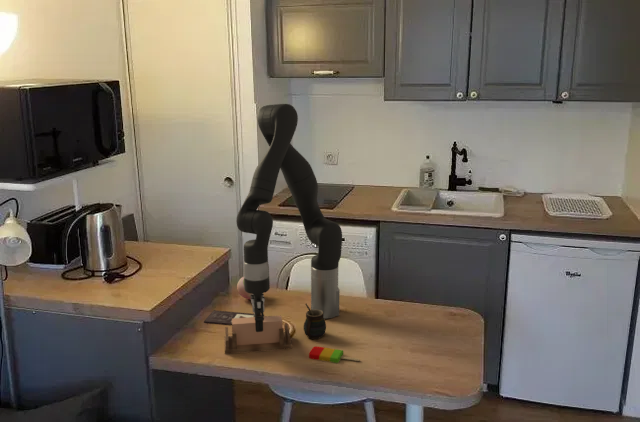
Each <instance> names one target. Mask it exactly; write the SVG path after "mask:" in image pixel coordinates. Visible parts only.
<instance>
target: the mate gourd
mask: <svg viewBox="0 0 640 422" xmlns="http://www.w3.org/2000/svg"><path fill="white" fill-rule="evenodd" d="M304 305H305V307H306V308H307V309H308V311H306V312H305V321H304V323H303V331H304V335H305V336H306V337H308V338H309V339H310V340H318V339H321V338H323V337H324V335H325V333H326V331H327V323H326V320H325V319H324V318H323V316H324V315H323V314H324V313H323V311H321V310H317V309H314V310H311V307H309V305H308V304H307V303H305V304H304Z"/></svg>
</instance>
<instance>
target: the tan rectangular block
mask: <svg viewBox="0 0 640 422" xmlns="http://www.w3.org/2000/svg"><path fill="white" fill-rule="evenodd" d="M254 318H255V317H249V318H234V319H232V325H231V333H232V332H236V337H237V345H249V344H263V343H277V342H279V329H282V328H283V318H282V315H267V316H265V315H264V321H263V331H262V332H256V327H255V319H254Z"/></svg>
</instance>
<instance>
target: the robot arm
mask: <svg viewBox="0 0 640 422" xmlns="http://www.w3.org/2000/svg"><path fill="white" fill-rule="evenodd" d="M298 121H299V115H298V111H297V110H296V108H295V107H294V106H293V105H291V104H290V103H289V104H288V103H277V104H268V105H266V104H265V105H263V106H262V107H260V108H259V110H258V113H257V125H258V128H259V130H260V132H261V134H262V136H263V139H265V141H266V143H267V145H268V146H269V148H268V150H267V151H266V153H265V154H264V156H263V157H262V159H261V160H260V161H259V163H257V166H256V168H255V171H254V172H253V175H252V180H251V183H250V187H249V192H248V193H247V196H246V198H245V200H244V201H243V203H242V205H241V207H240V208H239V211H238V212H237V215H236V227H237V229H238V230H239V231H240V232H242V233H246V234H253V235H256V237H255V238H254V239H250V240H247V241H245V242H244V244H243V277H244V289H245V291H246V292H247V293H250V294H251V295H250V296H251V299H250V302H251V303H250V304H251V305H252V314H254V317H255V318H254V319H255V327H256V332H262V331H263V321H264V316H265V314H264V313H265V301H266V300H265V296H264V295H265V294H264V293H267V292H268V291H270V286H271V285H270V282H271V281H270V265H269V252H268V251H269V249H268V248H269V244H270V243H269V242H270V238H271V233H272V229H273V225H274V220H273V217H272V215H271V213H270V212H269V211H266V210H262V209H259V207H260V206H261V205H266V204H270V203H271V202H272V201H273V198H274V193H275V190H276V184H277V181H278V177H279V173H280V171H281V173H282V175H283V178H284V181H285V183H286V186H287V188H288V189H289V190H288V191H289V192H290V195H291V196H292V198H293V201H294V203H295V206H296V208H297V210H298V213H299V215H300V217H301V221H302V223H303V224H302V225H303V228H304V230H305V234H306V237H307V239H308V240H309V241H310V242H311V243H312V244H314V245H316V246H318V250H317V251H318V252H317V254H315V255H313V256H311V259H310V260H311V261H310V310H314V309H317V310H321V311H323V313H324V314H323V315H324V316H323V318H324V320H325V319H333V318H335V317H339V316H340V294H341V293H340V292H341V291H340V288H339V263H340V261H341V260H340V259H341V257H342V245H343V232H342V231H343V230H342V228H341V226H340V225H339V224H338V223H337V222H335V221H332V220H330V219H327V218H326V217H325V216H324V214H323V212H322V210H321V208H320V205H319V202H318V195H319V194H318V193H319V185H318V180H317V178H316V175H315V172H314V170H313V168H312V166H311V164H310V163H309V161H308V160H307V159H306V158H305V157H304V156H303V155H302V154H301V152H299V151H298V150H297V149H296V148H295V147H294V146H293V145H292V143H291V142H292V139H293V137H294V135H295V132H296V130H297V127H298V126H297V125H298Z"/></svg>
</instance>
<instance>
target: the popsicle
mask: <svg viewBox="0 0 640 422" xmlns="http://www.w3.org/2000/svg"><path fill="white" fill-rule="evenodd" d="M308 358H309V359H311V360H317V361H322V362H327V363H328V362H329V363H335V364H338V363H340V360H341V359H342V360H347V361H353V362H360V361H361V359H360V358H356V357H350V356H344V350H342V349H336V348H329V347H324V346H323V347H322V346H317V345H316V346H313V347H312V348H311V349H310V351H309V353H308Z"/></svg>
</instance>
